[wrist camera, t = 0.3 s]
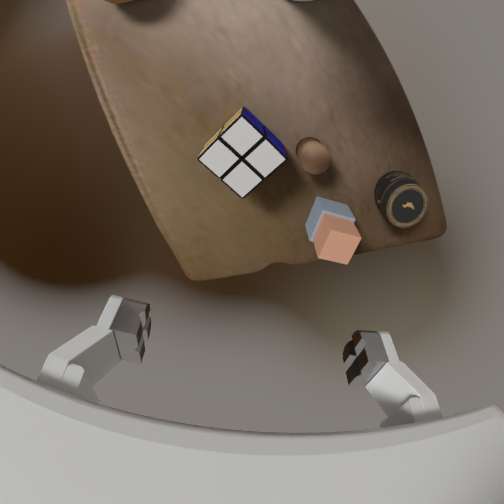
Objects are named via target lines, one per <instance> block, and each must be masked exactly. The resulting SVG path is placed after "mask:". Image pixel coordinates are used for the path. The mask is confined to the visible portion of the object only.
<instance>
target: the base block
mask: <svg viewBox="0 0 504 504" xmlns="http://www.w3.org/2000/svg"><path fill="white" fill-rule="evenodd" d="M324 213H327V214H330V215H334V216H337V217H341V218H344V219H348V220H351V221H353V223H354V222H355V220H356V219H355V217H354V216H353V214H352V212H351V210H350V209H349V207H348V205H345V204H342V203H338V202H335V201H332V200H328V199H325V198H321V197H318V196H317V197H316V200H315V202H314V205H313V207H312V210H311V212H310V215H309V217H308V220H307V222H306V224H305V227H306V230H307V234H308V237H309V241H312V242H313V238H314V235H315V233H316V231H317V228H318V226H319V224H320V221H321V219H322V217H323V214H324Z"/></svg>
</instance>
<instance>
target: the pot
mask: <svg viewBox="0 0 504 504" xmlns="http://www.w3.org/2000/svg"><path fill="white" fill-rule="evenodd" d="M105 1H107V2H110V3H117V4H119V3H126V2H130V1H133V0H105Z"/></svg>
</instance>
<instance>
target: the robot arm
mask: <svg viewBox="0 0 504 504" xmlns="http://www.w3.org/2000/svg"><path fill="white" fill-rule="evenodd" d="M294 1H313V0H294ZM149 312H150V304H149V303H145V302H141V301H137V300H133V299H128V298H123V297H119V296H115V295H112V296H111V297H110V298H109V300H108V303H107V304H106V307H105V309H104V311H103V313H102V315H101V317H100V319H99V321H98V324H97V326H91V327H90V328H88V329H87V330H85V331H84V332H82V333H81V334H79V335H77V336H76V337H74V338H73V339H71V340H70V341H68V342H67V343H65V344H64V345H62V346H61V347H59V348H58V349H56V350H55V351H53V352H52V353H50V354H49V355H48V358H47V359H46V362H45V364H44V366H43V368H42V370H41V373H40V375H39V377H38V380H37V381H35V380H32V379H30V378H28V377H26V376H23V375H21V374H19V373H17V372H15V371H12V370H11V369H9V368H6V367H5V366H3V365H1V364H0V504H504V413H503V412H502V411H501V410H500V409H499V408H497V407H496V406H495V405H493V404H489V405H485V406H482V407H479V408H475V409H472V410H468V411H465V412H461V413H457V414H453V415H449V416H445V417H442V414H441V411H440V408H439V405H438V402H437V399H436V396H435V394H434V393H433V392H432V391H431V390H430V389H429V388H428V387H427V386H426V385H425V384H424V383H423V382H422V381H421V380H420V379H419V378H418V377H417V376H416V375H415V374H414V373H413V372H412V371H411V370H410V369H409V368H408V367H407V366H406V365H405V364H404V363H403V362H399V359H398V356H397V353H396V350H395V347H394V345H393V342H392V339H391V337H390V334H389V333H388V332H378V331H362V330H357V331H355V332H354V333H353V335H352V340H351V341H349V342H347V344H346V346H345V347H344V350H343V362H344V364H345V365H346V366H347V368H348V369H347V371H346V376H347V380H348V385H354V386H358V385H359V386H360V385H361V386H365V387H366V388H367V389H368V391H369V392H370V393H371V395H372V396H373V397H374V399H375V400H376V401H377V403H378V404H379V405H380V407H381V408H382V409H383V411H384V412H385V413H386V415H387V416H388V417H387V418H386V419H385V420H383V421H382V422H381V423H380V425H379V426H380V428H375V429H366V430H355V431H341V432H319V433H278V432H277V433H276V432H256V431H241V430H231V429H221V428H213V427H204V426H198V425H191V424H185V423H179V422H173V421H168V420H162V419H157V418H153V417H148V416H143V415H139V414H135V413H131V412H127V411H123V410H119V409H116V408H112V407H108V406H104V405H101V404H99V401H100V400H99V399H98V396H97V395H96V393H95V391H94V389H93V387H92V386H93V385H94V384H95V383H96V382H98V381H99V380H100V379H101V378H102V377H103V376H104V375H105V374H106V373H108V372H109V371H110V370H111V369H112V368H113V367H114V366H115V365H116V364H117V363H118V362H120V361H121V359H122V360H127V361H132V362H137V363H142V359H143V356H144V353H145V344H144V343H145V342H147V341H148V339H149V335H150V330H151V317H150V316H149Z"/></svg>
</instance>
